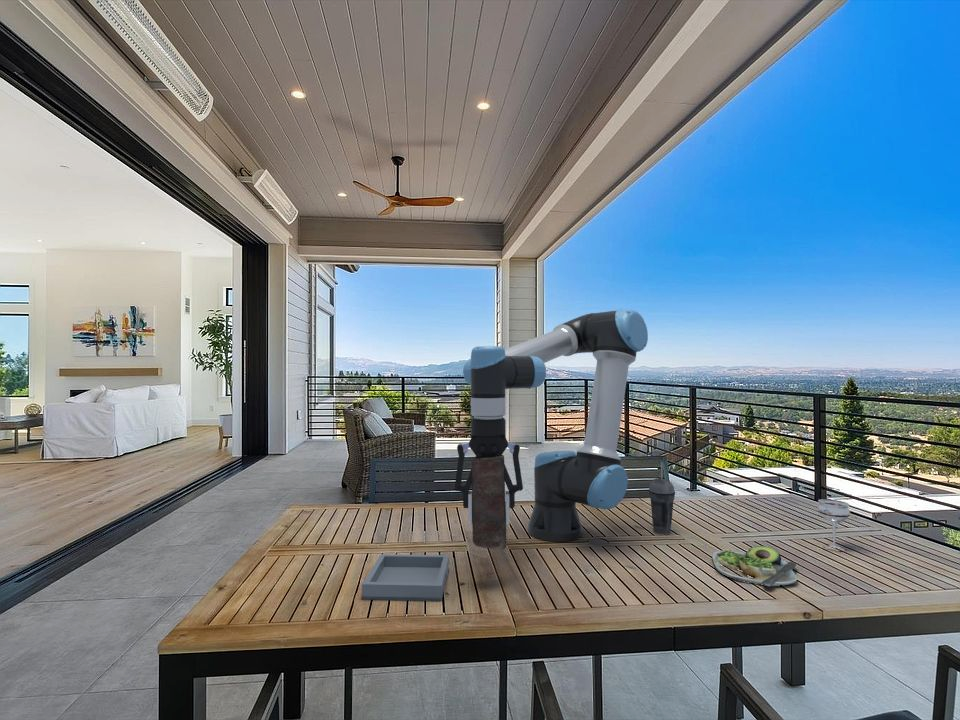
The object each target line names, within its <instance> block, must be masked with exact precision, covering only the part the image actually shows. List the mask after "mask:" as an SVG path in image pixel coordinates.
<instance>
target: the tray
mask: <svg viewBox="0 0 960 720" xmlns="http://www.w3.org/2000/svg"><path fill="white" fill-rule="evenodd" d="M449 569H450V555H448V554H399V553H398V554H395V553H390V554H389V553H386V554H385V553H380V554H379V557H378V558H377V560H376V561H375V562H374V565H372V567H371V569H370V571H369V572H368V573H367V576H366V578H364V580H363V582H362V584H361V600H363V601H364V600H367V601H368V600H369V601H370V600H372V601H373V600H374V601H375V600H376V601H377V600H378V601H413V602H414V601H422V602H425V601H426V602H442V601H443V597H444V592H445V588H446V584H447V578H448V575H449ZM447 574H448V575H447Z"/></svg>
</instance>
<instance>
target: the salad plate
mask: <svg viewBox="0 0 960 720" xmlns="http://www.w3.org/2000/svg"><path fill="white" fill-rule="evenodd" d="M711 560H712V562H713V564H714V567H715V569H716V571H718V572H719V573H721V574H722V575H723V576H724V575H725V576H724V577H726V576H727V578H728V577H730V578H729V579H731V578H733V579H736V580H740V581H745V582H750V583H757V584H763V585H765V586H764V587H771V586H772V587H780V585H782V586H788V585H793V584H795V583H796V582H797V580H798V577H797V575H796V574H795V572H794V571H793V570H794V569H795V568H796V567H797V563H796V562H794V561H789V562H788V561H785V560H784V559H782V557H781V554H780V552H779V551H778V550H777V549H776V548H774V547H771V546H767V545H756V546H752V547H749V548H748V551H745V553H744V552H740V551H732V550H730V549H729V550H718V551H717V550H716V551H715V552H713V553H712V556H711ZM720 564H721V565H724V566H723V567H725V566H727V567H730V568H729V569H731V568H734V569H739V570H742V571H743V572H744V573H745V574H746V575H749V576H751V577H753V578H747V577H746V576H740V575H736V574H734V573H730V572H729V571H727V570H725V569H724V568H723V569H724V570H723V569H722V568H721V566H720ZM727 567H726V568H727ZM734 569H733V570H734ZM744 573H743V574H744ZM745 574H744V575H745ZM733 579H732V580H733ZM736 580H735V581H736ZM740 581H739V582H740ZM750 583H749V584H750Z"/></svg>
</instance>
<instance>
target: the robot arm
mask: <svg viewBox="0 0 960 720" xmlns="http://www.w3.org/2000/svg"><path fill="white" fill-rule="evenodd" d="M648 336H649V333H648V327H647V324H646V322H645V319H644V318H643V315H641V314H640V313H639V312H638V311H636V310H635V309H621V308H619V309H617V310H610V311H602V312H601V311H600V312H591V313H587V314H584V315H580V316H578V317H575V318H573V319H570V320H568V321H566V322H564V323H561V324H558V325H556V326H555V327H554V328H553V329H552V331H549V332H547V333H544V334H541V335H539V336H536V337H533V338H531V339H529V340H525V341H522V342H520V343H517V344H515V345H513V346H509V347H507V348H505V347H503V346H498V345H496V346H495V345H484V346H482V345H481V346H479V345H478V346H474V347H473V348H472V349H471V354H470V359H468V360H467V361H466V362H465V364H464V366H463V369H462V374H463V377H464V381H465V382H466V383H467V384H468V385H470V414H471V415H470V416H472V417H473V418H472V419H470V424H471V425H470V436H471V437H470V439H469V441H468V442H465V443H462V442H461V443H458V444H457V447H456V449H457V450H456V451H457V454H458V457H457V458H458V460H457V467H456V475H455V481H454V490H455V491H456V492H461V493H462V504H463V505H462V507H463V509H468V514H467V515H468V517H467V518H468V519H467V520H468V522H467V523H468V526H472V490H470V489H471V488H472V466H471V467H470V471H469V474H468V475H467V478H466V481H465V483H464V484H463V483H462V482H463V481H462V480H463V471H464V463H465V457H466V454H467V453H468V452H469V451H468V450H469V449H471V451H472V452H473V454H474V455H475V457H476V458H475V459H477V458H483V457H497V456H501V455H504V452H505V451H506V449H507V448H508V450H509V453H511V454H512V462H513V468H514V474H515V482H516V484H513V481H512V480H511V476H510V475H509V472H508V469H507V467H506V466H507V465H506V463H504V480H505V486H506V488H507V490H505V510H506V526H510V509H515V507H516V506H515V505H516V504H515V502H516V501H515V498H516V496H515V495H516V493H517V492H521V491H522V490H523V489H524V485H523V479H522V473H521V465H520V459H519V454H520V449H521V446H520V443H518V442H516V443H513V442H509V441H508V439H507V437H506V436H507V435H506V432H507V431H506V429H507V428H506V425H507V423H506V418H505V417H504V416H506V390H509V389H510V390H511V389H512V390H513V389H516V390H517V389H534V388H539V387H540V386H542V384H544V382H545V381H546V377H547V368H546V363H548V362H550V361H552V360H553V361H554V359H557V358H559V357H562V356H563V357H570V356H573V355H576V354H585V353H587V354H588V353H590V354H591V353H592V356H593V357H594V359H595V360H596V367H595V371H594V372H595V373H594V378H593V385H592V389H591V390H592V391H591V398H590V404H589V409H588V410H589V411H588V416H587V423H586V428H585V429H586V430H585V436H584V442H583V445H582V446H581V447H580V448H579V449H577V450H576V451H574V450H558V451H557V450H556V451H555V450H554V451H545V452H540V453H538V454H537V455H536V456H535V459H534V467H533V469H534V473H533V474H534V475H533V476H534V506H533V509H532V512H531V514H530V518H529V521H528V533H529V535H530V536H532V537H534V538H536V539H539V540H543V541H550V542H570V541H571V542H572V541H574V540H577V539H580V538H581V537H582V536H583V525H582V522H581V520H580V517H579V513H578V510H577V503H578V504H581V505H585V506H587V507H590V508H593V509H594V508H595V509H602V510H612V509H614V508H615V507H617V506H618V504H620V503H621V501H622V500H623V498H624V497H625V495H626V492H627V490H628V483H629V480H628V478H629V477H628V476H627V475H628V474H627V470H625V468H624V467H623V466H621V464H622V458H621V457H620V456H619V454H618V453H617V449H618V442H619V435H620V427H621V421H622V414H623V408H624V400H625V393H626V388H627V387H626V386H627V381H628V379H627V378H628V375H629V374H628V373H629V368H630V365H632V364H633V363H634V362H636V358H637V353H638V352H642V351H643V350H644V349H645V348H646V347H647V344H648V340H649V338H648Z"/></svg>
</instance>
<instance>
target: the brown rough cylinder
mask: <svg viewBox="0 0 960 720" xmlns="http://www.w3.org/2000/svg"><path fill="white" fill-rule="evenodd" d="M475 458H476V456H475V457H471V458H470V459H471V460H470V461H471V467H472V484H471V491H472V525H471V526H472V543H473V544H474V545H475V546H476V547H478V548H480V547H481V548H484V549H492V550H505V549H507V543H508V542H507V525H506V497H505V491H506V488H505V487H506V483H505V480H504V464H505V455H504V454H502V455H501V456H497V457H483V458H477V459H475Z"/></svg>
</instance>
